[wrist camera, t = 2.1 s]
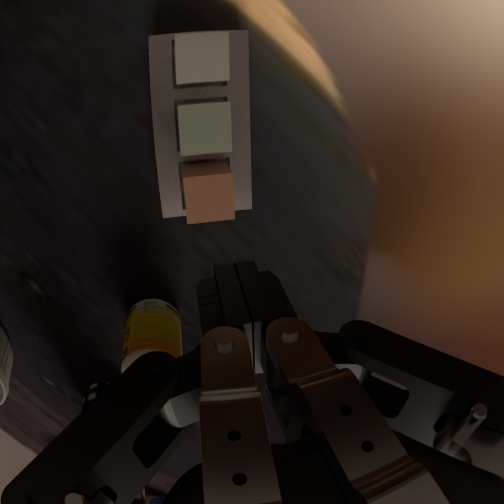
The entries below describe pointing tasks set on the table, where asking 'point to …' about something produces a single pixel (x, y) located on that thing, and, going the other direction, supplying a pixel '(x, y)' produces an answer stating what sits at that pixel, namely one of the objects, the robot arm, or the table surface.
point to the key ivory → (202, 57)
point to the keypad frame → (171, 95)
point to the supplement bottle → (151, 331)
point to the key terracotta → (208, 191)
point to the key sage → (205, 127)
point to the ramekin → (4, 364)
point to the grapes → (157, 500)
